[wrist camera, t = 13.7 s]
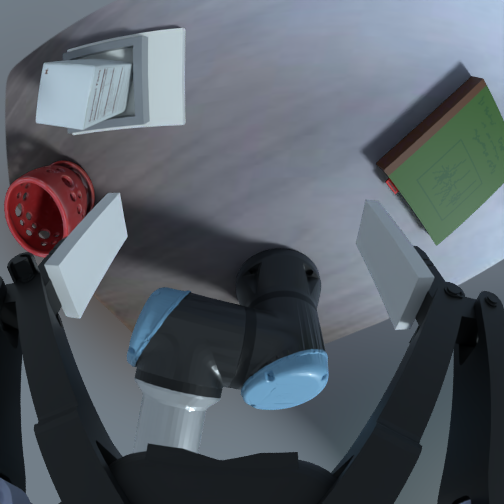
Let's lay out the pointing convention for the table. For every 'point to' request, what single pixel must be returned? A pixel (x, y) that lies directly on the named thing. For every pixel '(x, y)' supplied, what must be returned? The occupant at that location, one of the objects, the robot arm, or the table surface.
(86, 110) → the supplement box
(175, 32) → the plate
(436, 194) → the hardcover book
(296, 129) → the table surface
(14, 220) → the plant pot
